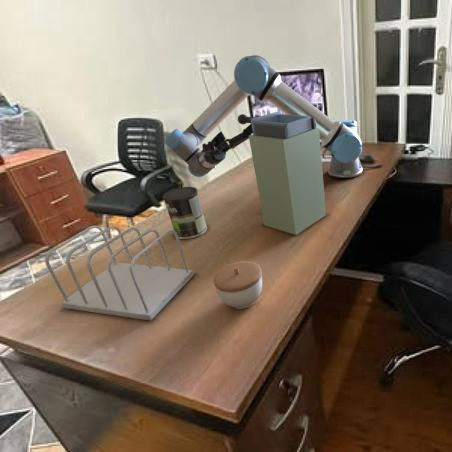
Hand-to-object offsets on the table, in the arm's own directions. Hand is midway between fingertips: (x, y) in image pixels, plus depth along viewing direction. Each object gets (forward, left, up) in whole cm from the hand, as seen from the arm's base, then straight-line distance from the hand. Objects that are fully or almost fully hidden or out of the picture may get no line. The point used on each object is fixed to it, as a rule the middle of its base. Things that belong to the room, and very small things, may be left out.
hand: (239, 130), depth 117 cm
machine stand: (-9, +19, -29) cm, 35 cm away
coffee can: (+23, +5, -29) cm, 38 cm away
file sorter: (+43, +30, -29) cm, 60 cm away
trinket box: (+19, +50, -29) cm, 61 cm away
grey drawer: (-6, +13, +1) cm, 14 cm away
